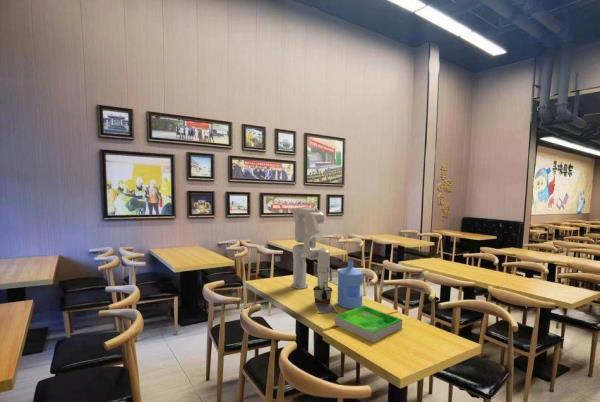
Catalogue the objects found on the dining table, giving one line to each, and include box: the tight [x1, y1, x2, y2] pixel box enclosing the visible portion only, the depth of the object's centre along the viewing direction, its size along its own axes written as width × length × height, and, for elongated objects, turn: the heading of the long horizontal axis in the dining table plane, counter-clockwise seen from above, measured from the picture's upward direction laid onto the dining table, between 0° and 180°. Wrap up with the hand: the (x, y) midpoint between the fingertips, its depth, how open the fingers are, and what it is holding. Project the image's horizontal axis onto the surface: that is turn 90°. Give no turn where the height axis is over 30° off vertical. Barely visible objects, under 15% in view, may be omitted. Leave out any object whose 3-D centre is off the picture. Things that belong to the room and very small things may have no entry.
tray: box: [334, 305, 403, 343], centre depth 162 cm, size 25×25×5 cm
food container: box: [312, 285, 334, 305], centre depth 192 cm, size 12×6×10 cm, turn 85°
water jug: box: [337, 259, 364, 310], centre depth 192 cm, size 16×16×28 cm
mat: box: [311, 301, 339, 315], centre depth 187 cm, size 18×12×1 cm, turn 9°
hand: (322, 297), depth 192 cm, fingers closed on food container, 6 cm apart
